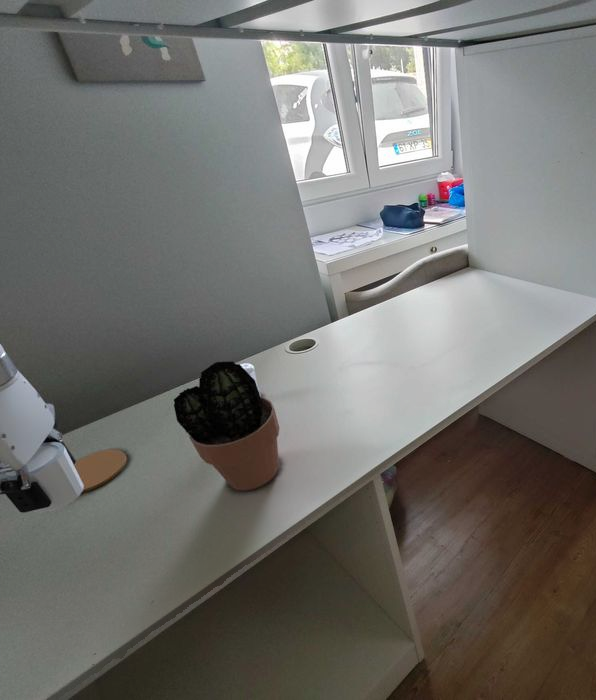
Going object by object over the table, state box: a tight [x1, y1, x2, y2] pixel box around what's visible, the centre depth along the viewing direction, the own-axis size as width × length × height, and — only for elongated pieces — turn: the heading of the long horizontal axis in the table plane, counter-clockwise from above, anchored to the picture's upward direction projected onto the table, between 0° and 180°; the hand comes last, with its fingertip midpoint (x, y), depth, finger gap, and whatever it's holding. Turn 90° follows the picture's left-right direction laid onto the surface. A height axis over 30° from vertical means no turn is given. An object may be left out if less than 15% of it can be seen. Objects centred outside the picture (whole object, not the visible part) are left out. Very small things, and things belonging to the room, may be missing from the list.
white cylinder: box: [1, 442, 84, 515], centre depth 59 cm, size 7×7×7 cm
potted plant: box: [173, 360, 280, 491], centre depth 77 cm, size 14×14×25 cm
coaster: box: [74, 449, 128, 494], centre depth 85 cm, size 11×11×1 cm
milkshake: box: [240, 362, 262, 397], centre depth 101 cm, size 4×5×10 cm
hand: (50, 485), depth 60 cm, fingers closed on white cylinder, 6 cm apart
